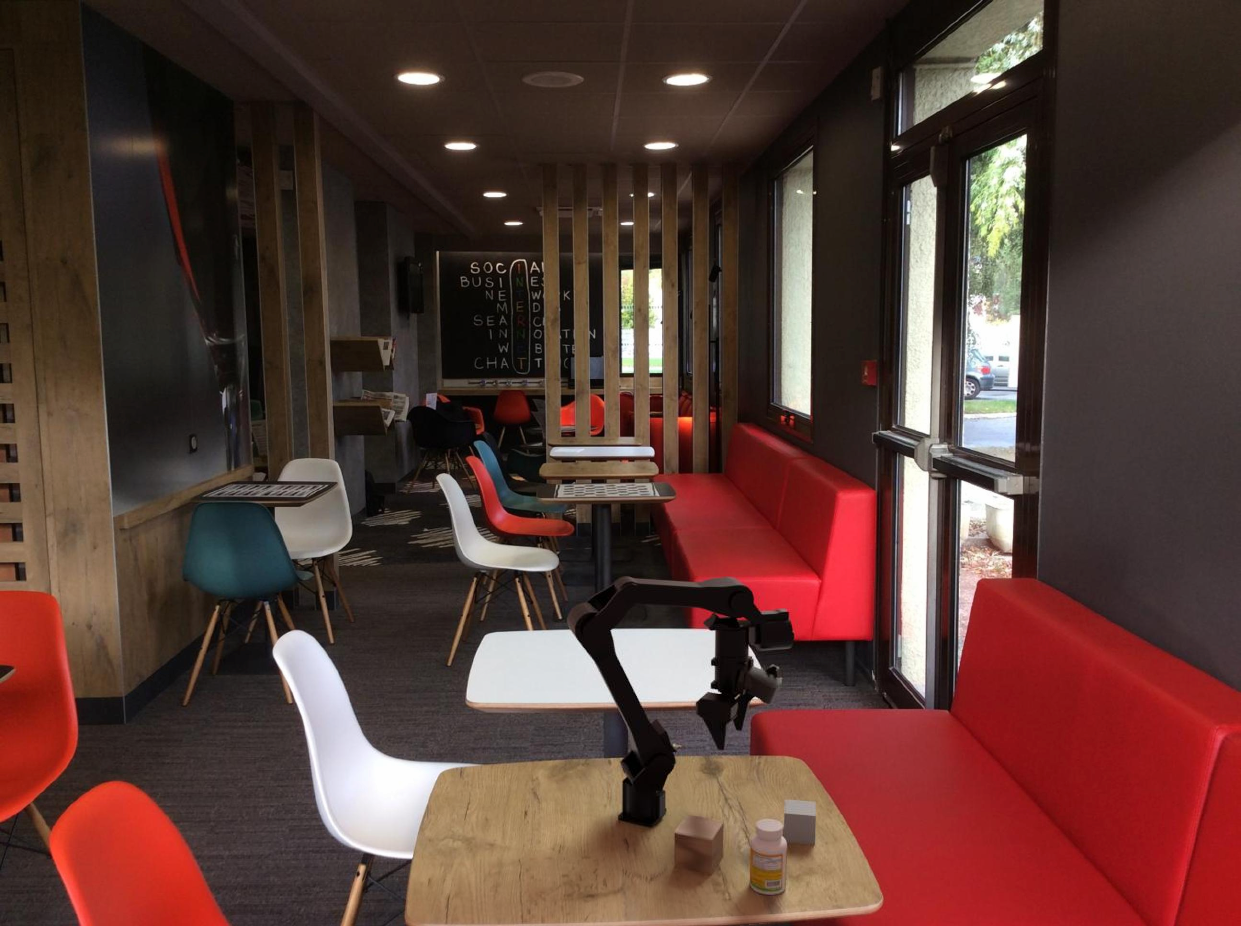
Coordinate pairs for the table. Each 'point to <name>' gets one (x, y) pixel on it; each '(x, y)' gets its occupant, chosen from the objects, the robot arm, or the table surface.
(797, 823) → the grey cube
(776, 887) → the supplement bottle
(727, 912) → the table surface
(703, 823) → the walnut cube
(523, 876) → the table surface
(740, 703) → the robot arm
